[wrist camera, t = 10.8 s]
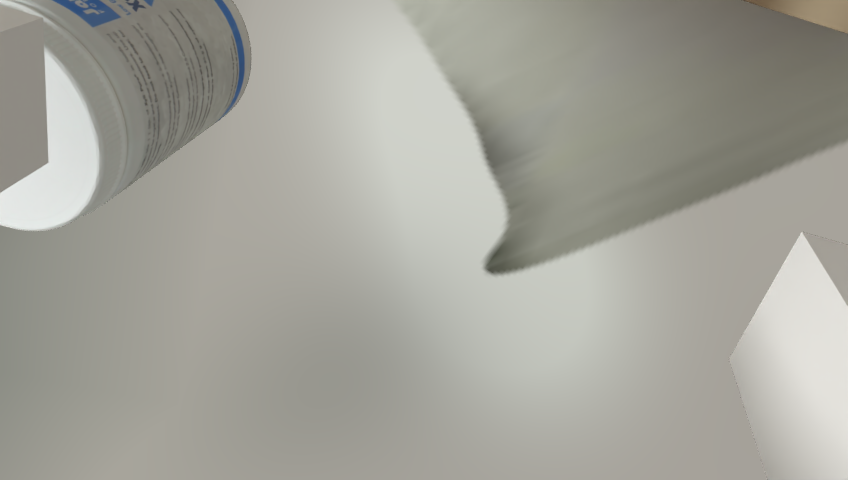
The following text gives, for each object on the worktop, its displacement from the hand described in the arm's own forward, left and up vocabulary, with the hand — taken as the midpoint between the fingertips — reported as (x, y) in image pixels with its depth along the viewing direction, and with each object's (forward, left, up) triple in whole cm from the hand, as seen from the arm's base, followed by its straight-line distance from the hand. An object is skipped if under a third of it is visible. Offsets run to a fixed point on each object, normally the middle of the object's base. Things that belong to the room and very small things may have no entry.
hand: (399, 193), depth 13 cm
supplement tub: (-17, -9, -27) cm, 33 cm away
